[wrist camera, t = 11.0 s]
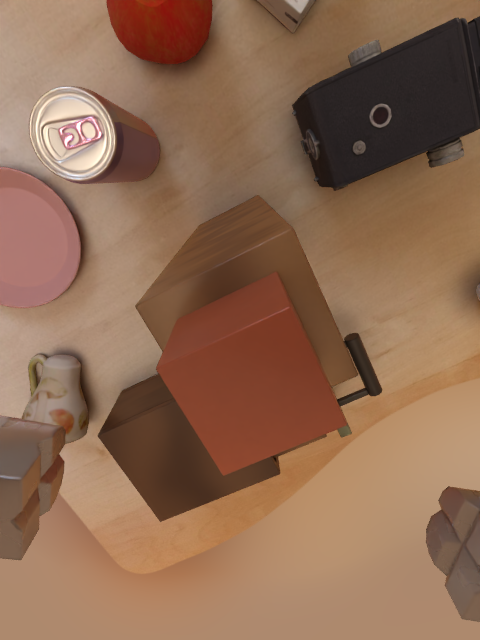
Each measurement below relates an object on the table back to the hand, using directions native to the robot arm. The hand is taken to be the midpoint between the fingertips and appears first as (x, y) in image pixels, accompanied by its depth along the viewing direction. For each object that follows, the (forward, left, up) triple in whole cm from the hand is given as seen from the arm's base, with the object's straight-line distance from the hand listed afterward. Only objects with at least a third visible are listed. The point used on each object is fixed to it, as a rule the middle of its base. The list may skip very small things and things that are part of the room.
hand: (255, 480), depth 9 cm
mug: (+27, +6, -37) cm, 46 cm away
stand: (0, 0, -37) cm, 37 cm away
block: (0, 0, -9) cm, 9 cm away
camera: (-16, -5, -37) cm, 40 cm away
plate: (+21, -10, -37) cm, 44 cm away
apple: (-3, -20, -37) cm, 42 cm away
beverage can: (+6, -13, -37) cm, 39 cm away
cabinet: (+14, +16, -37) cm, 42 cm away
